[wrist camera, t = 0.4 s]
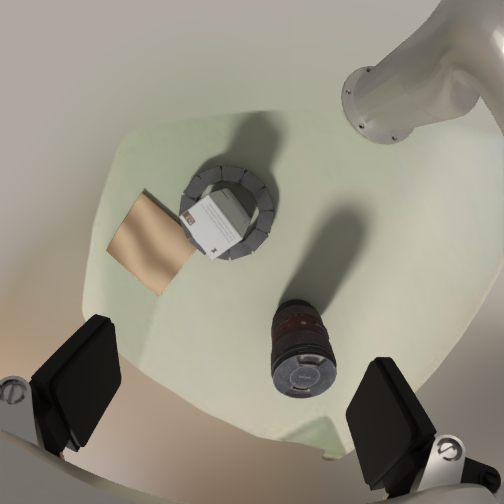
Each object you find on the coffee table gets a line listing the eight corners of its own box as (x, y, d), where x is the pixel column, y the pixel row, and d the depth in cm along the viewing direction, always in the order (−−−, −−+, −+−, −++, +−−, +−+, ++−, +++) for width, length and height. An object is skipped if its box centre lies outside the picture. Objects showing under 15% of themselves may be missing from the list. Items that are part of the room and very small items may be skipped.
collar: (221, 148, 37) (219, 147, 35) (291, 207, 39) (292, 209, 37) (167, 217, 40) (162, 219, 38) (233, 271, 42) (231, 276, 40)
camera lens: (272, 293, 43) (274, 351, 28) (322, 296, 42) (346, 352, 28) (267, 336, 45) (267, 400, 30) (314, 338, 45) (330, 400, 30)
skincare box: (252, 219, 39) (247, 239, 28) (227, 237, 40) (213, 264, 29) (227, 185, 38) (210, 190, 27) (202, 204, 39) (177, 217, 28)
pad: (143, 192, 39) (141, 192, 38) (201, 242, 41) (200, 243, 40) (107, 249, 42) (105, 250, 41) (160, 295, 44) (158, 296, 43)
